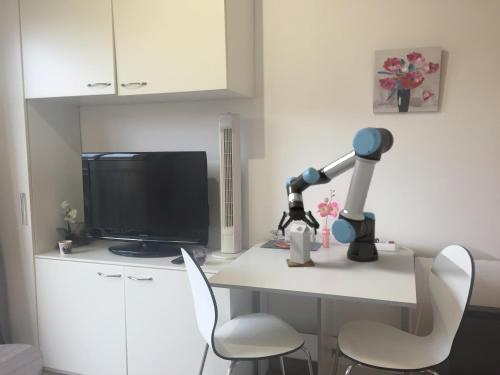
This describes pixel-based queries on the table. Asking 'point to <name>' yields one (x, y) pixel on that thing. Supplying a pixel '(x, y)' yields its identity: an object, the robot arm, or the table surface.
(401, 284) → the table surface
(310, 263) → the walnut board
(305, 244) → the milk carton
